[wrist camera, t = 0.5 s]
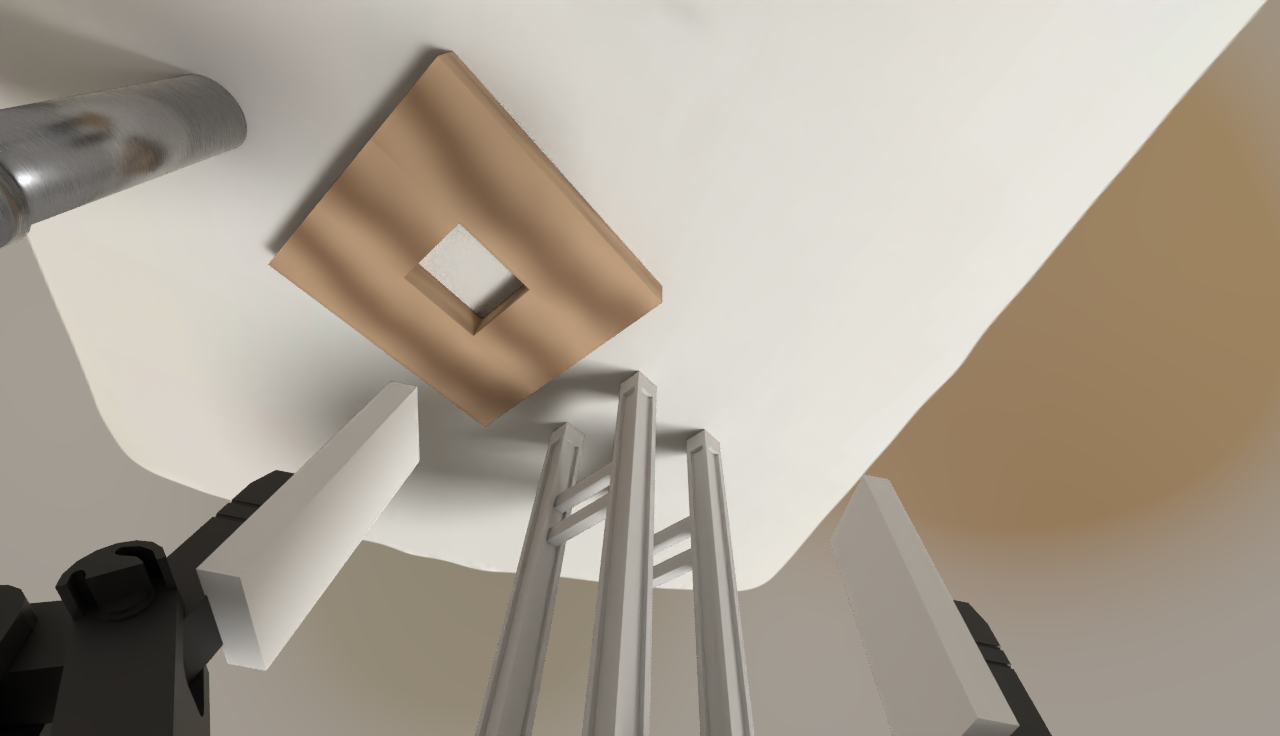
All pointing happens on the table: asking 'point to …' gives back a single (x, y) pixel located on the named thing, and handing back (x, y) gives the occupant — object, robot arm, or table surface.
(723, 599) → the stool
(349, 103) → the table surface
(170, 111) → the link pin
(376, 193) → the keeper block
